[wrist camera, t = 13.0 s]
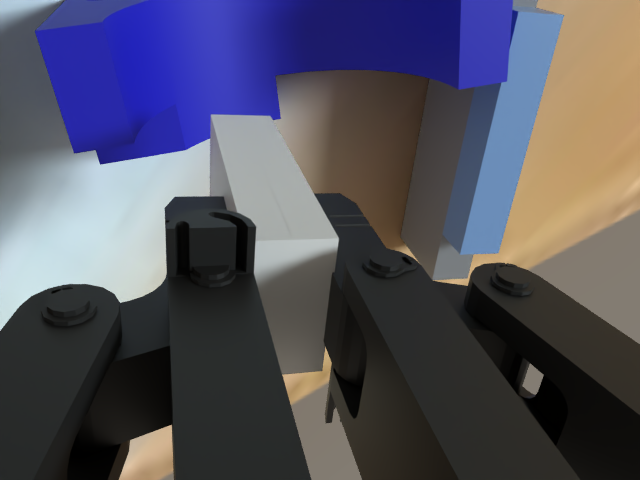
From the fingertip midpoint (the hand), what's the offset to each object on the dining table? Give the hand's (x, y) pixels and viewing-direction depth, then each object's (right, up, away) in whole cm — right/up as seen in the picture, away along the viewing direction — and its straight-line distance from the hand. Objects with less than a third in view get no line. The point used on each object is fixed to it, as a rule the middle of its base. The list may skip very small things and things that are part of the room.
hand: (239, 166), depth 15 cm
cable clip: (0, +5, +6) cm, 8 cm away
